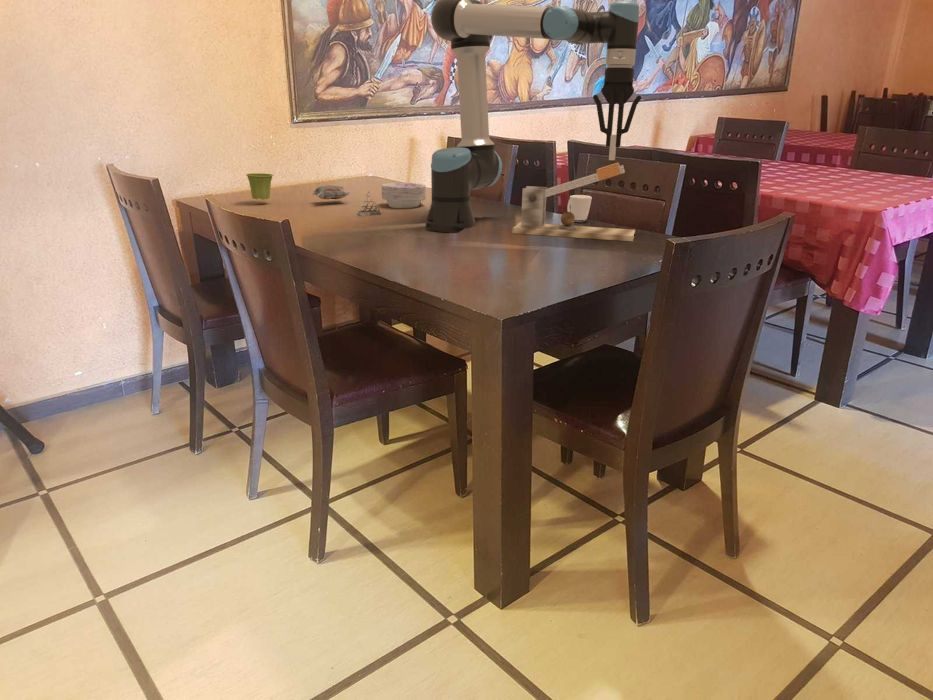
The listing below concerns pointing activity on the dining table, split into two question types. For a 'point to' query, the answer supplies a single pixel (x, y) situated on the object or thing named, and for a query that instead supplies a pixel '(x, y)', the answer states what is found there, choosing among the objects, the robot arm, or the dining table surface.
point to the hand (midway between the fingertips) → (611, 159)
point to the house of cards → (370, 212)
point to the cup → (579, 206)
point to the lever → (587, 179)
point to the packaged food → (330, 192)
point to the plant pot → (260, 185)
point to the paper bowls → (403, 194)
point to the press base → (579, 232)
